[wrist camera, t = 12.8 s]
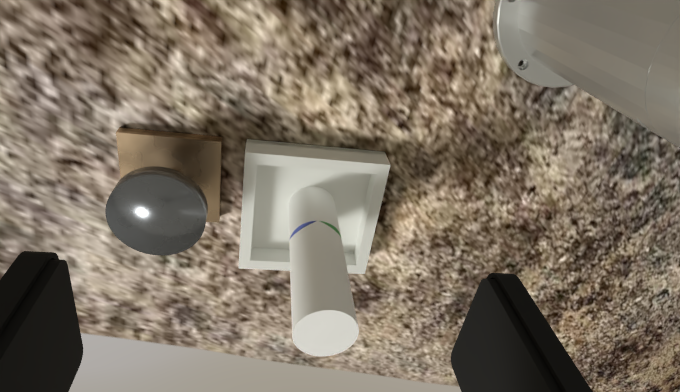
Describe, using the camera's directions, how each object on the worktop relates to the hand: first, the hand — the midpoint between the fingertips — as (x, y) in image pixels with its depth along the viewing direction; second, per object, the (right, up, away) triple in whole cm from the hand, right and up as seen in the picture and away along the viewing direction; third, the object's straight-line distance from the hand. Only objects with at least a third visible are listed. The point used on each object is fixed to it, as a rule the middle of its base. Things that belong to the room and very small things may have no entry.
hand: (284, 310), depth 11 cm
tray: (-2, +2, +32) cm, 32 cm away
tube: (-1, +2, +32) cm, 32 cm away
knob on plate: (-13, +5, +29) cm, 32 cm away
